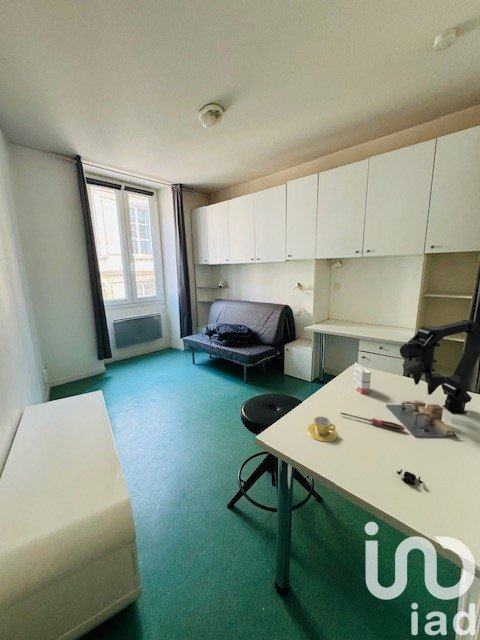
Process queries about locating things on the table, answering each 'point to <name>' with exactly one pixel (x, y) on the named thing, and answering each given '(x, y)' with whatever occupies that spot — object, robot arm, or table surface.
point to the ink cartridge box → (361, 379)
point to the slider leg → (430, 412)
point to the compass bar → (436, 421)
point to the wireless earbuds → (409, 478)
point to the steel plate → (416, 422)
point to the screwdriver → (381, 423)
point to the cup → (322, 429)
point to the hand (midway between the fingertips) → (422, 389)
